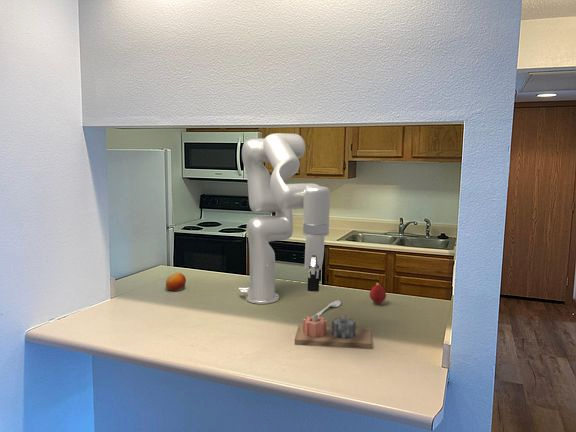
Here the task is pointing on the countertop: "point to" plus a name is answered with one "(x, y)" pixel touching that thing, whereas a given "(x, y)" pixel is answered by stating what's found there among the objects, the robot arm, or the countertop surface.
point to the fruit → (176, 282)
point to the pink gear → (314, 327)
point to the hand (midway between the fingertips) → (314, 285)
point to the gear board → (337, 335)
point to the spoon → (329, 306)
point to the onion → (377, 294)
